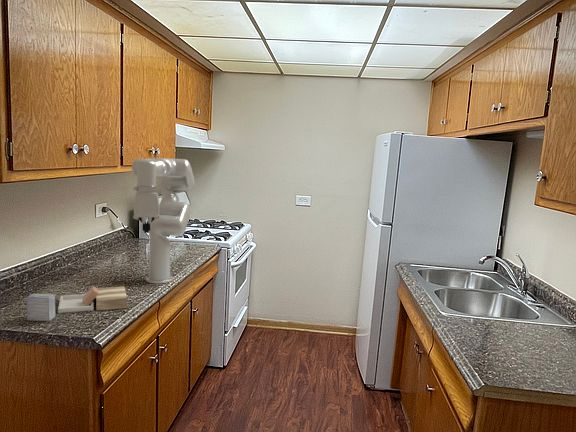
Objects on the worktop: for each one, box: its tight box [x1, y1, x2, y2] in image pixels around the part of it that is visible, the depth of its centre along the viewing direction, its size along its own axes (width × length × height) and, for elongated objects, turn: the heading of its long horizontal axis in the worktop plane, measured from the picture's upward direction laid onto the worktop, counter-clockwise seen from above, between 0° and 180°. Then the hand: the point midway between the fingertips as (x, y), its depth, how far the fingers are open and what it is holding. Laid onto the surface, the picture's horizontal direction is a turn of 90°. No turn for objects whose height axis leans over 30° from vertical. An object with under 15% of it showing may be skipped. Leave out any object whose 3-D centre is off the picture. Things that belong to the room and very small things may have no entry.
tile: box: [82, 285, 99, 306], centre depth 174 cm, size 6×6×2 cm
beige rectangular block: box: [95, 286, 128, 311], centre depth 177 cm, size 16×11×4 cm
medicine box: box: [26, 293, 56, 322], centre depth 157 cm, size 8×4×9 cm, turn 92°
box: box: [57, 293, 95, 315], centre depth 173 cm, size 16×12×2 cm
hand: (146, 232), depth 189 cm, fingers closed
